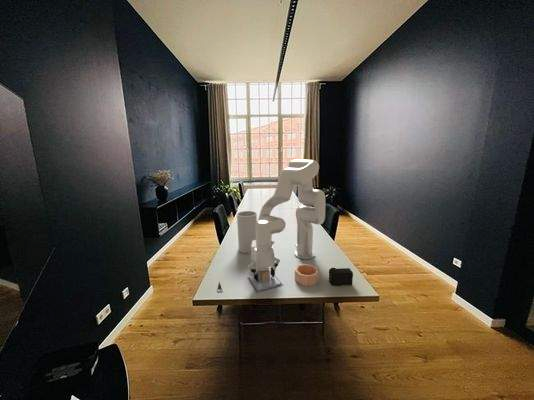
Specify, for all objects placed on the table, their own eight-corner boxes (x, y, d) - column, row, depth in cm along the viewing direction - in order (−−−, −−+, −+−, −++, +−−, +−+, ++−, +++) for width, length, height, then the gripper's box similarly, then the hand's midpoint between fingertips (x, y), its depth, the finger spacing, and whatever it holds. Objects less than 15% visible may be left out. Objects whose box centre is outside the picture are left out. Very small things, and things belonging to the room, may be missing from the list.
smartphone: (216, 292, 103) (220, 274, 118) (217, 293, 103) (220, 275, 118) (232, 290, 104) (233, 273, 118) (232, 292, 104) (233, 274, 118)
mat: (247, 278, 114) (247, 277, 114) (271, 272, 119) (271, 271, 119) (256, 294, 101) (256, 293, 101) (283, 286, 107) (283, 285, 106)
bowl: (291, 277, 114) (291, 267, 113) (309, 272, 118) (309, 262, 117) (302, 289, 104) (303, 278, 103) (322, 283, 109) (322, 272, 107)
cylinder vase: (260, 247, 149) (260, 212, 144) (251, 255, 139) (249, 217, 133) (245, 244, 155) (244, 210, 149) (235, 251, 144) (233, 215, 139)
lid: (249, 277, 113) (249, 267, 112) (270, 272, 118) (270, 262, 116) (257, 291, 102) (257, 279, 101) (280, 284, 107) (280, 273, 106)
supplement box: (253, 263, 129) (252, 239, 125) (268, 263, 128) (268, 239, 125) (251, 272, 120) (250, 246, 116) (268, 272, 119) (267, 246, 116)
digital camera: (347, 279, 112) (348, 266, 110) (352, 285, 107) (353, 272, 105) (327, 279, 112) (328, 267, 110) (331, 286, 106) (331, 273, 105)
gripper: (276, 239, 112) (277, 270, 116) (244, 245, 106) (245, 278, 110) (283, 245, 106) (283, 277, 110) (249, 252, 99) (250, 286, 103)
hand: (264, 277), depth 110 cm, fingers open, 8 cm apart
